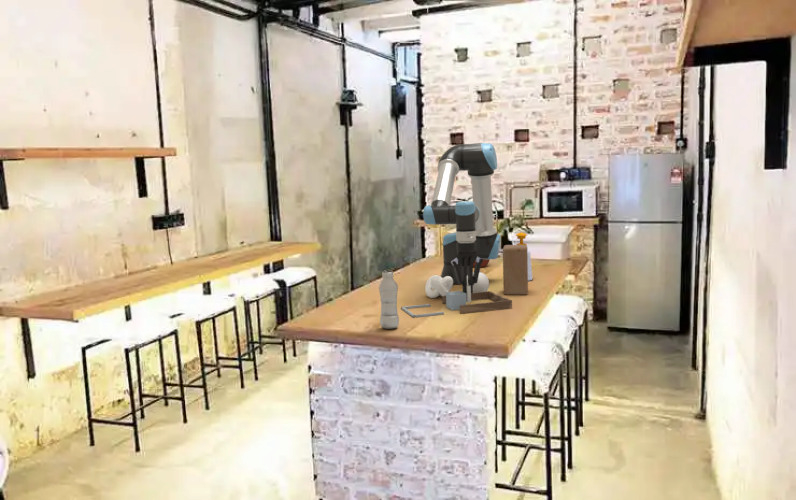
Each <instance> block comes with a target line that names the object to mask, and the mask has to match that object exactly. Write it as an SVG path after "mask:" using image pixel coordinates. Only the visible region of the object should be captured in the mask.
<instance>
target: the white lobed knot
mask: <svg viewBox="0 0 796 500" xmlns="http://www.w3.org/2000/svg"><path fill="white" fill-rule="evenodd" d="M453 285H454V284H453V279H452V278H451V277H450V276H446V277H444V278H442V277H441V275H437V274H434V275H431V276H430V277H429V278H428V279H427V280H426V282H425V285H424V290H425V295H426V296H427V297H428V298H430V299H436V298H438V297H439V296H441V297H442V296H446V292H451V290H452V288H453Z"/></svg>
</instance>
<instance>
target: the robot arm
mask: <svg viewBox="0 0 796 500" xmlns="http://www.w3.org/2000/svg"><path fill="white" fill-rule="evenodd" d="M496 152H497V151H496V149H495V145H493V144H492V143H490V142H489V143H487V142H486V143H485V142H478V143H477V142H476V143H465V144H463V143H462V144H461V143H458V144H456V145H453V146H451V147H450V148H448V149H447V150H446V151H444V153H443V154H442V155H441V157H440V158H439V160H438V161H437V162H438V164H437V166H436V167H437V171H438V172H437V178H436V181H435V182H436V183H435V185H434V186H435V187H434V190H433V195H432V199H431V203H430V205H425V206H424V208H423V210H422V215H423V222H424V223H425V224H426V225H455V226H456V227H455V228H456V229H455V232H451V233H447V234H445V235H444V236H443V237H442V250H443V251H442V252H443V253H442V255H443V259H442V260H443V266H442V269H441V274H440V276H441V277H442V278H444V277H446V276H450V277H451V278H452V279H453V285H460V286H462V287H461V288H462V292H464V293H466V303H472V301H471V293H473V285H474V284H475V283H477V281H478V276H479V271H481V267H480V266H481V263H482V262H483V260H489V259H490V260H496V259H497V258H498V257H499V253H500V247H501V234H499V233H498V231H497V229H496V227H494V216H493V214H494V213H493V195H492V178H491V177H492V176H493V175H494V174H495V171H496V170H497V168H498V159H497V158H498V157H497V153H496ZM460 171H463V172H464V171H465V172H466V171H467V176H468V177H470V179H471V191H472V193H471V194H472V201H471V200H470V201H466V200H465V201H457V202H456V203H455V204H454V205H453V204H452V205H451V200H452V195H453V191H454V186H455V181H456V176H457V175H458V174H459V172H460ZM475 260H476V264H475V267H473V263H474V262H475ZM490 260H489V261H490ZM473 272H474V274H473ZM467 275H468V285H467Z"/></svg>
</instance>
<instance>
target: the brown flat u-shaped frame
mask: <svg viewBox="0 0 796 500" xmlns="http://www.w3.org/2000/svg"><path fill="white" fill-rule="evenodd" d="M441 298H442V302H441V304H442V305H443V304H445V305H446V296H441ZM481 300H484V301H485V300H491V301H490V302H489V301H488V302H479V303H468V304H466V305H460V310H459V314H460V315H461V314H463V315H464V314H471V313H481V312H490V311H497V310H499V311H500V310H506V309H507V310H508V309H512V308H513V300H511V299H509V298H507V297H505V296H503V295H500V294H498V293H495V292H493V291H489V290H487V291H486V292H477V293H471V302H472V301H475V302H476V301H481Z"/></svg>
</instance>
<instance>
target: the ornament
mask: <svg viewBox="0 0 796 500" xmlns="http://www.w3.org/2000/svg"><path fill="white" fill-rule="evenodd" d="M473 274H474V271H473ZM467 285H468V275H467ZM489 287H490V281H489V278H488V276H487V275H486V273H483V272H482V271H481V270H480V271H479V276H478V281H477V283H475V284H474V285H473V293H477V292H486V291H489Z"/></svg>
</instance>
